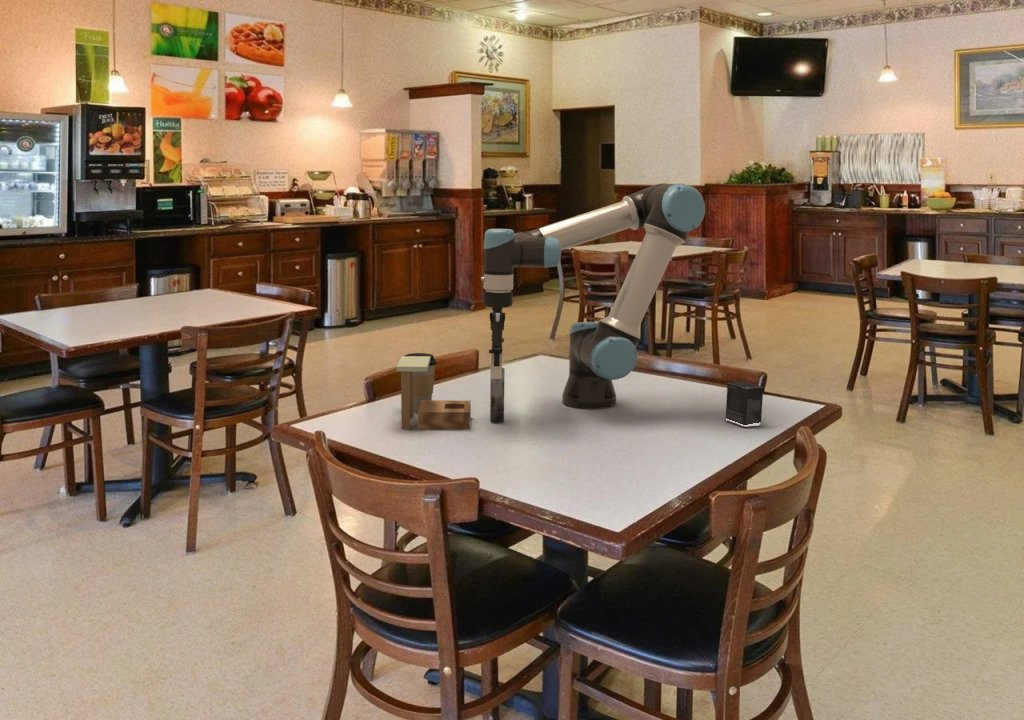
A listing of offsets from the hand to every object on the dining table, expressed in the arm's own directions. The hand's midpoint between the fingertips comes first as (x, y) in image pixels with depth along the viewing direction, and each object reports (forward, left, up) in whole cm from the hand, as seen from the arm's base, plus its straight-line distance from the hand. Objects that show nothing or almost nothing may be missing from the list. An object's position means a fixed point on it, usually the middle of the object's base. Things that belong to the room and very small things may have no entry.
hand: (496, 372), depth 241 cm
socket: (+14, +2, -13) cm, 19 cm away
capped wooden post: (+21, +2, -13) cm, 25 cm away
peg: (0, 0, -13) cm, 13 cm away
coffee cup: (+21, -11, -13) cm, 27 cm away
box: (-64, +1, -13) cm, 66 cm away
